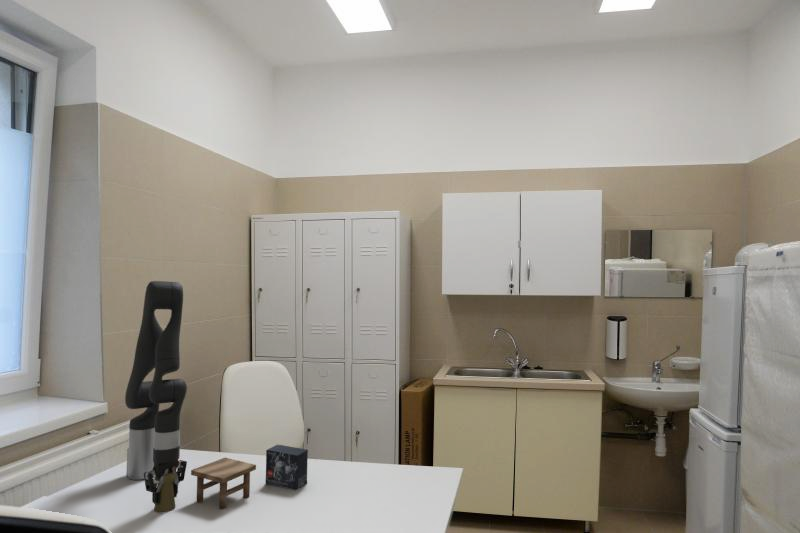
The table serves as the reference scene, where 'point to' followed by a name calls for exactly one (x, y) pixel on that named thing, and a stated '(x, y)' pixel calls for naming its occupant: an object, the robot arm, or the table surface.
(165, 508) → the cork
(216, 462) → the stool
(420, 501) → the table surface
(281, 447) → the small box
